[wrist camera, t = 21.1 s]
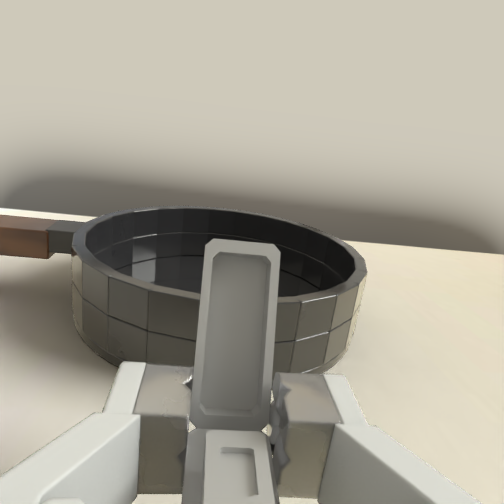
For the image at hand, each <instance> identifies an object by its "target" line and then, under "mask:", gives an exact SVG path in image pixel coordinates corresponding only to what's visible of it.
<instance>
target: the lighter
mask: <svg viewBox="0 0 504 504" xmlns="http://www.w3.org/2000/svg"><path fill="white" fill-rule="evenodd" d="M280 253H281V252H280V251H279V250H278V249H277V247H276V246H275V245H274V244H267V243H257V242H246V241H236V240H225V239H215V238H214V239H212V240H211V241H210V242H209V243H207V244H206V245H205V254H204V265H203V276H202V287H201V297H200V308H199V319H198V330H197V341H196V352H195V362H194V375H193V387H192V398H191V408H190V421H191V422H192V423H193V425H194V426H195V427H196V429H194V430H192V431H191V432H189V433H188V441H187V451H186V461H185V471H184V482H183V492H182V503H181V504H280V502H279V496H278V490H277V485H276V479H275V473H274V466H273V458H272V452H271V445H270V441H269V436H267V435H266V434H265V433H263V432H262V431H261V430H262V429H263V428H264V427H266V426H267V425H268V424H269V410H270V400H271V386H272V371H273V356H274V342H275V327H276V312H277V297H278V283H279V268H280Z"/></svg>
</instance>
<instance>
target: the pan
mask: <svg viewBox="0 0 504 504" xmlns="http://www.w3.org/2000/svg"><path fill="white" fill-rule="evenodd" d="M214 238H215V239H225V240H236V241H246V242H257V243H267V244H274V245H275V246H276V247H277V249H278V250H279V251H280V252H281V253H280V268H279V283H278V297H277V312H276V327H275V342H274V356H273V371H272V385H273V380H274V376H275V373H276V372H286V373H309V374H321V373H323V372H325V371H326V370H328V369H330V368H331V367H333V366H334V365H335V364H336V363H337V362H338V361H339V360H340V359H341V358H342V357H343V356H344V354H345V353H346V351H347V350H348V347H349V345H350V342H351V338H352V335H353V334H354V330H355V325H356V321H357V316H358V312H359V308H360V303H361V299H362V294H363V290H364V286H365V281H366V277H367V269H366V264H365V260H364V258H363V257H362V256H361V255H360V254H359V253H358V252H357V251H356V250H355V249H354V248H353V247H352V246H350V245H348V244H347V243H345V242H343V241H342V240H340V239H339V238H337V237H335V236H332V235H330V234H328V233H325V232H323V231H320V230H318V229H316V228H313V227H310V226H307V225H304V224H301V223H297V222H294V221H290V220H287V219H283V218H278V217H274V216H270V215H264V214H259V213H253V212H247V211H241V210H234V209H224V208H214V207H197V206H158V207H145V208H136V209H127V210H123V211H118V212H114V213H109V214H105V215H103V216H100V217H98V218H95V219H93V220H90V221H88V222H86V223H85V224H84V225H83V226H82V227H80V228H79V229H78V230H77V232H74V234H73V239H72V245H71V258H72V312H73V314H74V323H75V326H76V329H77V332H78V333H79V335H80V336H81V338H82V339H83V341H84V342H85V343H86V344H87V345H88V346H89V347H90V348H91V349H92V350H93V351H94V352H95V353H97V354H98V355H100V356H101V357H102V358H104V359H105V360H107V361H108V362H110V363H112V364H114V365H116V366H118V367H119V366H120V364H121V363H122V362H123V361H129V362H146V363H157V364H170V365H182V366H194V362H195V352H196V341H197V330H198V319H199V308H200V297H201V287H202V276H203V265H204V254H205V245H206V244H207V243H209V242H210V241H211V240H212V239H214ZM271 389H272V386H271Z"/></svg>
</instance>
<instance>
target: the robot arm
mask: <svg viewBox="0 0 504 504" xmlns="http://www.w3.org/2000/svg"><path fill="white" fill-rule="evenodd" d="M193 375H194V366H182V365H170V364H157V363H146V362H129V361H123V362H122V363H121V364H120V366H119V369H118V371H117V374H116V376H115V379H114V382H113V384H112V387H111V390H110V392H109V395H108V397H107V400H106V403H105V405H104V408H103V411H102V413H93V414H91V415H90V416H88V417H87V418H85V419H84V420H82V421H81V422H79V423H78V424H76V425H75V426H73V427H72V428H70V429H69V430H67V431H66V432H65V433H63V434H62V435H60V436H59V437H57V438H56V439H54V440H53V441H51V442H50V443H48V444H47V445H45V446H44V447H42V448H41V449H39V450H38V451H36V452H35V453H33V454H32V455H30V456H29V457H27V458H26V459H25V460H23V461H22V462H20V463H19V464H17V465H16V466H14V467H13V468H11V469H10V470H8V471H7V472H5V473H4V474H2V475H1V476H0V504H131V503H132V502H133V501H134V500H135V499H136V497H137V494H182V491H183V481H184V471H185V461H186V451H187V441H188V430H189V420H190V408H191V398H192V387H193ZM272 391H273V396H274V401H273V402H272V403H271V404H270V410H269V424H268V425H267V436H269V441H270V445H271V452H272V455H273V466H274V473H275V479H276V485H277V490H278V496H279V497H294V498H312V499H318V500H317V501H318V502H319V504H482V503H481V502H479V501H478V500H477V499H475V498H474V497H472V496H471V495H470V494H468V493H467V492H466V491H464V490H463V489H462V488H460V487H459V486H457V485H456V484H455V483H453V482H452V481H451V480H449V479H448V478H447V477H445V476H444V475H442V474H441V473H440V472H438V471H437V470H436V469H434V468H433V467H432V466H430V465H429V464H427V463H426V462H425V461H423V460H422V459H421V458H419V457H418V456H416V455H415V454H414V453H412V452H411V451H410V450H408V449H407V448H406V447H404V446H403V445H401V444H400V443H399V442H397V441H396V440H395V439H393V438H392V437H391V436H389V435H388V434H386V433H385V432H384V431H382V430H381V429H380V428H378V427H377V426H372V425H369V424H368V422H367V420H366V418H365V416H364V414H363V412H362V410H361V408H360V406H359V403H358V401H357V399H356V397H355V395H354V393H353V391H352V389H351V387H350V385H349V383H348V381H347V379H346V377H345V376H344V375H343V374H309V373H286V372H276V373H275V376H274V380H273V385H272Z"/></svg>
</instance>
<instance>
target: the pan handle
mask: <svg viewBox="0 0 504 504" xmlns="http://www.w3.org/2000/svg"><path fill="white" fill-rule="evenodd" d="M85 223H86V222H76V221H65V220H51V219H40V218H30V217H19V216H9V215H0V255H6V256H18V257H29V258H41V259H49V258H50V257H51V256H52V255H53V254H54V253H66V254H71V245H72V239H73V234H74V232H77V230H78V229H79V228H80V227H82V226H83V225H84V224H85Z"/></svg>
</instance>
